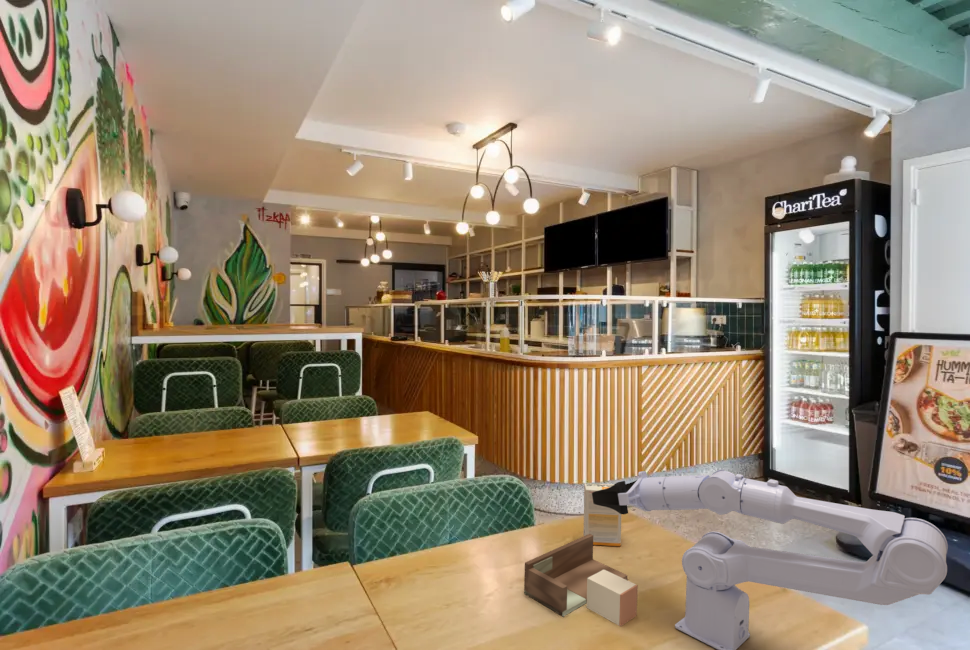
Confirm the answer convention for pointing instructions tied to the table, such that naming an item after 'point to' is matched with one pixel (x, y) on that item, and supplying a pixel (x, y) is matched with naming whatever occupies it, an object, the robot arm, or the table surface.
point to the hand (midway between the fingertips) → (604, 495)
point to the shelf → (563, 575)
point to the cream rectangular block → (612, 597)
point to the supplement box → (600, 518)
